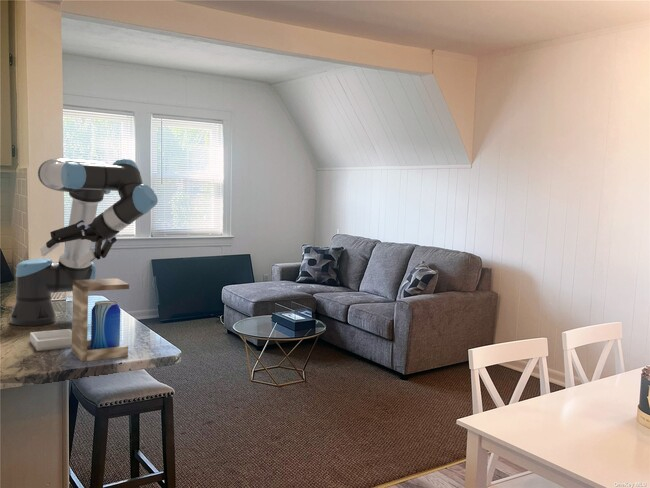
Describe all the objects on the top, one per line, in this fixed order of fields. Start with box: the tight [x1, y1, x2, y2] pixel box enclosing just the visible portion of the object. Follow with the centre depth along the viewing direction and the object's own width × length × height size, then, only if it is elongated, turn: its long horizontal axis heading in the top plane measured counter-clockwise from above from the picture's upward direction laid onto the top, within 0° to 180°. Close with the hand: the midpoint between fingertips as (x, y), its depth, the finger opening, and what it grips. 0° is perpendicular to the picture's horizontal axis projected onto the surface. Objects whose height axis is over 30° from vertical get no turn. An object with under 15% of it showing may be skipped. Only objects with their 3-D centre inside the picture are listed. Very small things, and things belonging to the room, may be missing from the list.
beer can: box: [90, 300, 121, 350], centre depth 174 cm, size 8×8×16 cm
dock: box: [71, 277, 130, 362], centre depth 173 cm, size 14×13×22 cm
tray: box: [29, 328, 72, 351], centre depth 181 cm, size 12×12×3 cm
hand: (60, 258), depth 171 cm, fingers open, 13 cm apart
